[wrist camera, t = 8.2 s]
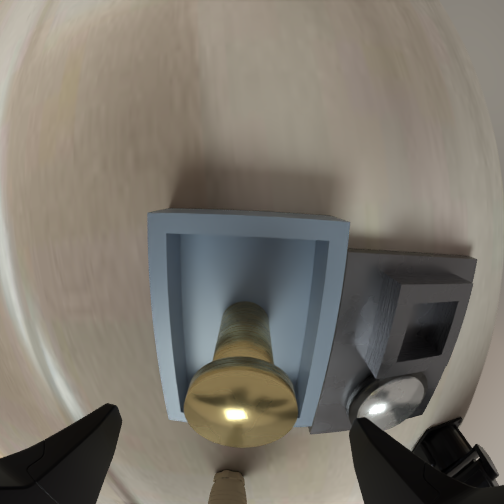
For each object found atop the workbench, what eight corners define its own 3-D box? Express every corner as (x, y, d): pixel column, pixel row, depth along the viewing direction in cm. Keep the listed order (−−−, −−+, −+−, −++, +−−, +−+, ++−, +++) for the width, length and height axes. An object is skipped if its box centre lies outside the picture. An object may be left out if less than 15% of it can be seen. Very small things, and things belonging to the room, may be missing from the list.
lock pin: (282, 292, 16) (306, 376, 8) (276, 352, 17) (289, 447, 9) (210, 288, 16) (177, 370, 8) (211, 349, 17) (189, 442, 9)
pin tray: (330, 215, 16) (350, 222, 13) (304, 394, 19) (311, 426, 16) (168, 208, 16) (147, 212, 13) (179, 389, 19) (168, 419, 16)
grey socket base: (468, 255, 17) (496, 267, 13) (417, 407, 20) (431, 429, 17) (342, 248, 17) (363, 262, 13) (307, 424, 20) (314, 454, 17)
